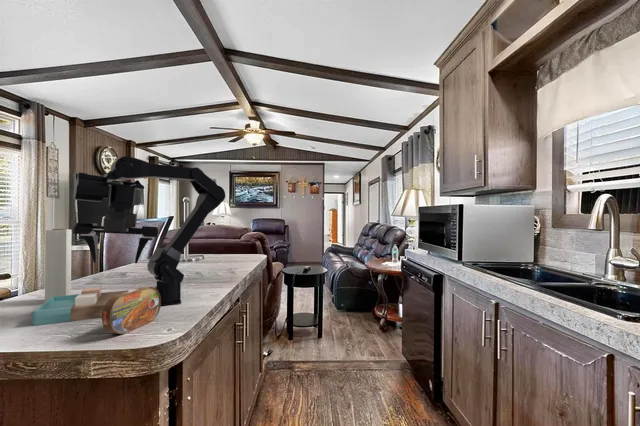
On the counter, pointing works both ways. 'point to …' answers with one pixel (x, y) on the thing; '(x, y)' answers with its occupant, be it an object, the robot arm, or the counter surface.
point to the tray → (54, 310)
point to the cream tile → (86, 299)
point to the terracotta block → (92, 291)
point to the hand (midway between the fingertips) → (116, 263)
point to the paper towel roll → (57, 262)
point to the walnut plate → (92, 307)
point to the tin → (131, 310)
